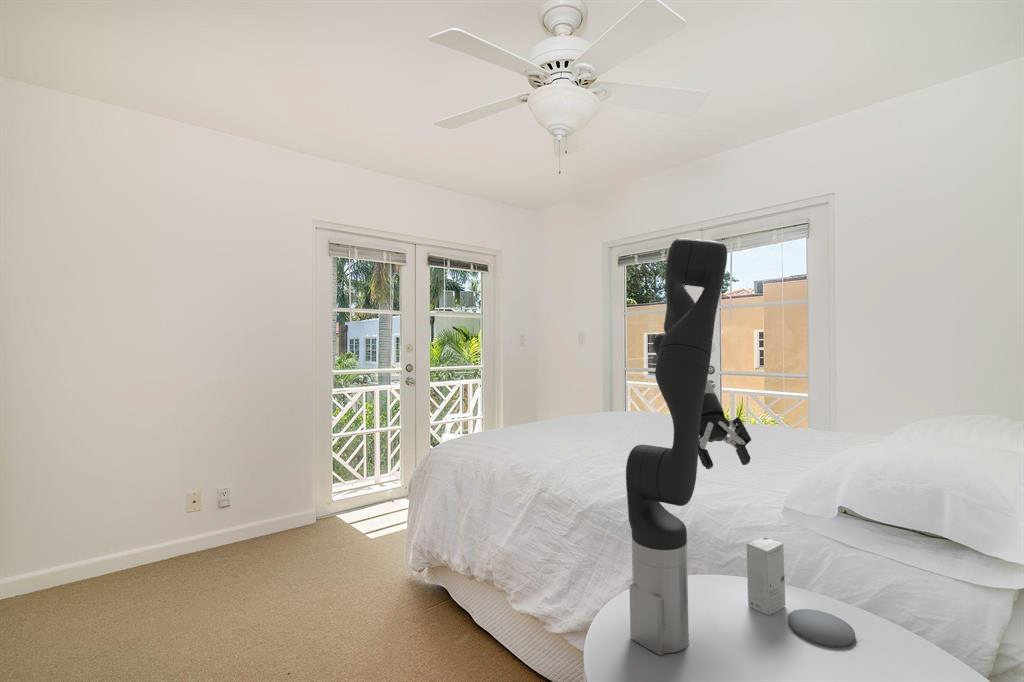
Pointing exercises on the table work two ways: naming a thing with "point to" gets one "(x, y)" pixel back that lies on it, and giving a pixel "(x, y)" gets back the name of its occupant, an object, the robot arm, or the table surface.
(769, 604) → the skincare box
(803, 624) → the coaster mat
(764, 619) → the table surface
